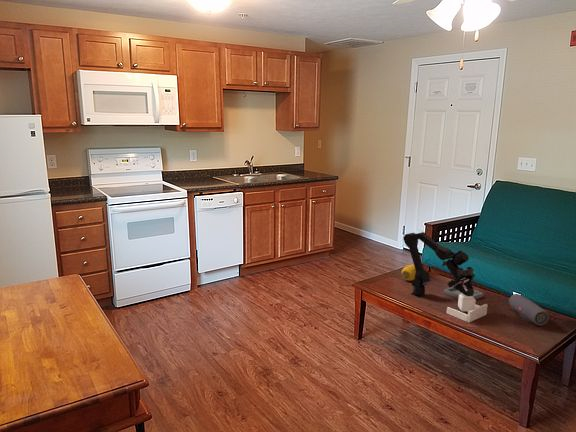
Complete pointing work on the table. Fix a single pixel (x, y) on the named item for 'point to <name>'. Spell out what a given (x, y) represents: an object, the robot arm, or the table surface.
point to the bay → (469, 313)
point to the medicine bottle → (467, 300)
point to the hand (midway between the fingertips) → (470, 293)
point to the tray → (455, 293)
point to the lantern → (409, 273)
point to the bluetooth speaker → (528, 309)
